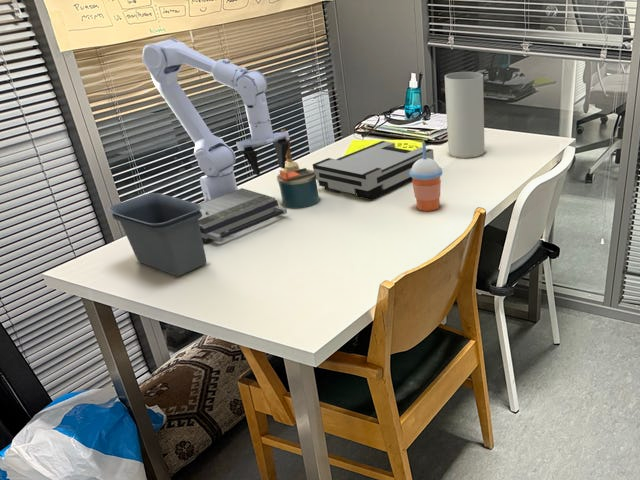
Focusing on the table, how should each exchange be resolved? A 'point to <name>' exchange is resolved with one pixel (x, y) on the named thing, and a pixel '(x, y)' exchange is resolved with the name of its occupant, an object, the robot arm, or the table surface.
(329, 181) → the game console
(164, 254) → the storage bin
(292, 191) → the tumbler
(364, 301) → the table surface
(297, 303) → the table surface
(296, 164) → the hand bell
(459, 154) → the cylinder vase
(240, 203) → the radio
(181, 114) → the robot arm
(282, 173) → the slider
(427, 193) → the cup with straw
